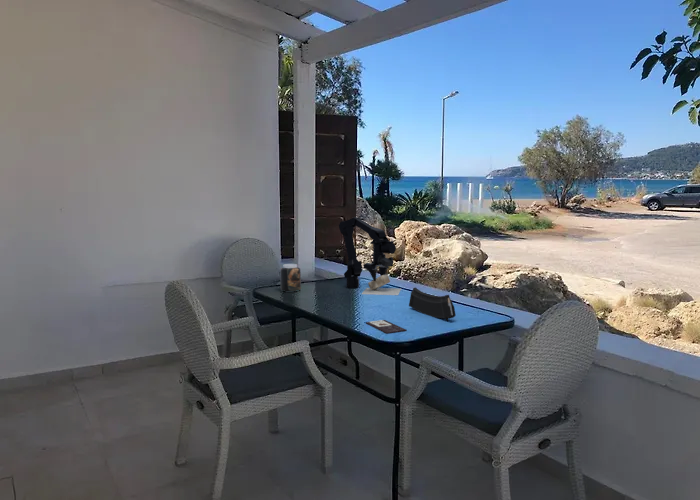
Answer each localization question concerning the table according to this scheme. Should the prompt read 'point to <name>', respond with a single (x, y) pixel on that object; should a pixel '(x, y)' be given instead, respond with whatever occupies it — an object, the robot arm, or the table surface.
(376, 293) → the rubber mat
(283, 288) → the jar
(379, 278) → the birch block
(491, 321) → the table surface
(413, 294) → the magazine
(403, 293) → the table surface
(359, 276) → the robot arm
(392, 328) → the chocolate bar
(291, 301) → the table surface
